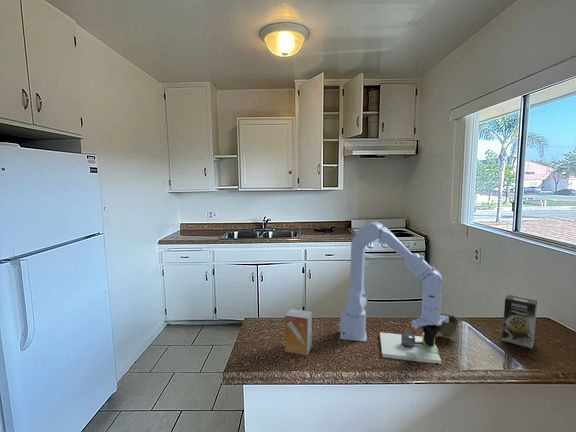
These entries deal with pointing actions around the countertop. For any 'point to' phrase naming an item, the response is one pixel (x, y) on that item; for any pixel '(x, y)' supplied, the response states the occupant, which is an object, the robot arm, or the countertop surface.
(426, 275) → the robot arm
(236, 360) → the countertop surface
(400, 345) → the dial board
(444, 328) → the olive rounded piece
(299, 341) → the small box
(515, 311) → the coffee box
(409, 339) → the grey and tan piece
